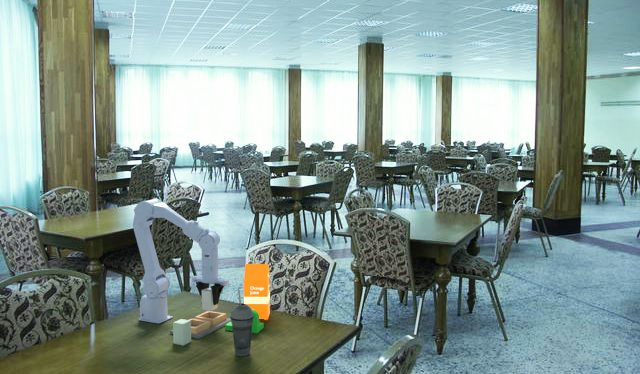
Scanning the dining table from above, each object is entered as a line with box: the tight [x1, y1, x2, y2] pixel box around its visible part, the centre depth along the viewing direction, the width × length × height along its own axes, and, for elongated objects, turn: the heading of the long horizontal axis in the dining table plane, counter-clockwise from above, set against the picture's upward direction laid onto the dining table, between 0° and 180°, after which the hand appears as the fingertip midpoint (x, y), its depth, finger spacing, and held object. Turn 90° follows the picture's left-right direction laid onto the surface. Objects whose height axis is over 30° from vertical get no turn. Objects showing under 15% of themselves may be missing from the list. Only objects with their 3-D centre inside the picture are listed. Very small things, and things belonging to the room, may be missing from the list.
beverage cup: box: [229, 288, 254, 357], centre depth 178 cm, size 7×7×20 cm
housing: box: [169, 310, 231, 340], centre depth 203 cm, size 12×20×3 cm, turn 155°
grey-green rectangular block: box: [201, 287, 219, 312], centre depth 206 cm, size 4×4×7 cm
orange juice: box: [243, 263, 271, 321], centre depth 215 cm, size 8×9×20 cm
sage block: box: [172, 318, 192, 346], centre depth 188 cm, size 4×4×7 cm
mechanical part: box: [224, 309, 265, 334], centre depth 201 cm, size 12×6×8 cm, turn 74°
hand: (210, 303), depth 207 cm, fingers closed on grey-green rectangular block, 4 cm apart
